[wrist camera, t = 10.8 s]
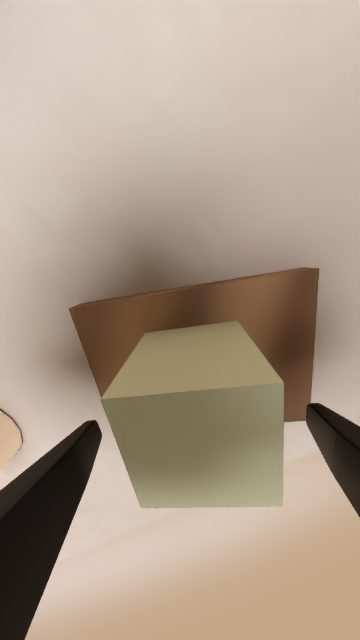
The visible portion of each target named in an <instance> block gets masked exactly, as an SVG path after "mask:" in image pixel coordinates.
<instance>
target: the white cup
mask: <svg viewBox="0 0 360 640" xmlns="http://www.w3.org/2000/svg"><path fill="white" fill-rule="evenodd" d="M21 445H22V439H21V433H20V430H19V429H18V427H17V426H16V424H15V423H14V422H13V420H12V419H11V418H10V417H8V416H7V415H6V414H4V413H3V412H2V411H0V472H1V471H2V469H3V468H4V467H5V466H6V465H7V464H8V463H9V461H10V460H11V459H12V458H13V457H14V456H15V454H16V453H17V452H18V450H19V448H20V446H21Z"/></svg>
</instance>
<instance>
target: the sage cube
mask: <svg viewBox="0 0 360 640" xmlns="http://www.w3.org/2000/svg"><path fill="white" fill-rule="evenodd" d="M101 402H102V405H103V407H104V410H105V413H106V415H107V418H108V421H109V423H110V426H111V429H112V431H113V434H114V437H115V439H116V442H117V445H118V448H119V450H120V453H121V456H122V458H123V461H124V464H125V466H126V469H127V472H128V474H129V477H130V480H131V482H132V485H133V488H134V490H135V493H136V496H137V499H138V501H139V504H140V507H141V508H191V507H271V506H283V437H284V382H283V381H282V379H281V378H280V377H279V375H278V374H277V373H276V371H275V370H274V369H273V367H272V366H271V365H270V363H269V362H268V361H267V359H266V358H265V357H264V355H263V354H262V353H261V351H260V350H259V349H258V347H257V346H256V345H255V343H254V342H253V341H252V339H251V338H250V337H249V335H248V334H247V333H246V331H245V330H244V329H243V327H242V326H241V325H240V323H239V322H238V321H230V322H223V323H215V324H208V325H200V326H193V327H186V328H178V329H171V330H163V331H156V332H148V333H145V334H144V336H143V337H142V338H141V340H140V341H139V343H138V344H137V346H136V347H135V349H134V350H133V352H132V353H131V355H130V356H129V358H128V359H127V361H126V362H125V364H124V365H123V367H122V368H121V370H120V371H119V373H118V374H117V376H116V377H115V379H114V380H113V381H112V383H111V384H110V386H109V387H108V389H107V390H106V392H105V393H104V395H103V396H102V398H101Z"/></svg>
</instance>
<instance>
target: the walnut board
mask: <svg viewBox="0 0 360 640" xmlns="http://www.w3.org/2000/svg"><path fill="white" fill-rule="evenodd" d="M318 278H319V268H300V269H294V270H287V271H281V272H275V273H269V274H263V275H257V276H250V277H244V278H238V279H232V280H226V281H219V282H213V283H207V284H201V285H195V286H188V287H182V288H176V289H170V290H164V291H157V292H151V293H145V294H139V295H133V296H127V297H120V298H114V299H108V300H102V301H96V302H89V303H83V304H79V305H76V306H74V307H71V308H69V311H70V313H71V316H72V319H73V322H74V324H75V327H76V330H77V332H78V335H79V338H80V341H81V343H82V346H83V349H84V351H85V354H86V357H87V360H88V362H89V365H90V368H91V370H92V373H93V376H94V379H95V381H96V384H97V387H98V389H99V392H100V395H101V398H102V396H103V395H104V393H105V392H106V390H107V389H108V387H109V386H110V384H111V383H112V381H113V380H114V379H115V377H116V376H117V374H118V373H119V371H120V370H121V368H122V367H123V365H124V364H125V362H126V361H127V359H128V358H129V356H130V355H131V353H132V352H133V350H134V349H135V347H136V346H137V344H138V343H139V341H140V340H141V338H142V337H143V336H144V334H145V333H148V332H156V331H163V330H171V329H178V328H186V327H193V326H200V325H208V324H215V323H223V322H230V321H238V322H239V323H240V325H241V326H242V327H243V329H244V330H245V331H246V333H247V334H248V335H249V337H250V338H251V339H252V341H253V342H254V343H255V345H256V346H257V347H258V349H259V350H260V351H261V353H262V354H263V355H264V357H265V358H266V359H267V361H268V362H269V363H270V365H271V366H272V367H273V369H274V370H275V371H276V373H277V374H278V375H279V377H280V378H281V379H282V381H283V382H284V422H292V421H306V407H307V404H310V402H311V387H312V371H313V356H314V340H315V325H316V309H317V293H318Z"/></svg>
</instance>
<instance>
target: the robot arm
mask: <svg viewBox="0 0 360 640" xmlns="http://www.w3.org/2000/svg"><path fill="white" fill-rule="evenodd" d="M306 423H307V426H308V428H309V430H310V432H311V434H312V436H313V438H314V439H315V441H316V443H317V445H318V447H319V449H320V451H321V453H322V455H323V457H324V459H325V461H326V463H327V465H328V466H329V468H330V470H331V472H332V473H333V475H334V477H335V478H336V480H337V482H338V483H339V485H340V487H341V488H342V490H343V491H344V493H345V495H346V496H347V498H348V499H349V501H350V502H351V504H352V506H353V507H354V509H355V510H356V512H357V514H358V515H359V517H360V426H358V425H356V424H354V423H353V422H351V421H349V420H348V419H346V418H344V417H342V416H341V415H339V414H337V413H336V412H334V411H332V410H330V409H329V408H327V407H325V406H323V405H322V404H319V403H311V404H307V407H306ZM101 439H102V433H101V430H100V428H99V425H98V423H97V421H96V420H90V421H86V422H85V423H83V424H82V425H81V426H80V427H78V428H77V429H76V430H75V431H73V432H72V433H71V434H70V435H68V436H67V437H66V438H65V439H64V440H62V441H61V442H60V443H59V444H57V445H56V446H55V447H54V448H52V449H51V450H50V451H49V452H47V453H46V454H45V455H44V456H42V457H41V458H40V459H39V460H38V461H36V462H35V463H34V464H33V465H31V466H30V467H29V468H28V469H26V470H25V471H24V472H23V473H21V474H20V475H19V476H18V477H16V478H15V479H14V480H13V481H12V482H10V483H9V484H8V485H7V486H5V487H4V488H3V489H2V490H0V640H24V639H25V637H26V634H27V632H28V629H29V627H30V624H31V622H32V619H33V617H34V615H35V612H36V610H37V607H38V605H39V602H40V600H41V597H42V595H43V592H44V589H45V587H46V585H47V582H48V580H49V577H50V575H51V572H52V570H53V567H54V565H55V562H56V560H57V557H58V555H59V552H60V550H61V547H62V545H63V542H64V540H65V537H66V535H67V532H68V530H69V527H70V525H71V523H72V520H73V518H74V515H75V513H76V510H77V508H78V505H79V503H80V500H81V498H82V495H83V493H84V490H85V488H86V485H87V482H88V480H89V477H90V474H91V471H92V468H93V465H94V461H95V458H96V455H97V452H98V449H99V445H100V442H101Z"/></svg>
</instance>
